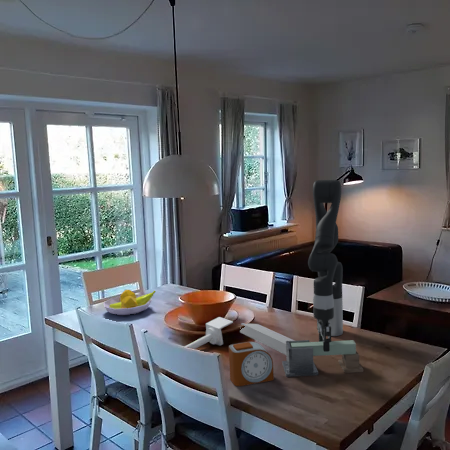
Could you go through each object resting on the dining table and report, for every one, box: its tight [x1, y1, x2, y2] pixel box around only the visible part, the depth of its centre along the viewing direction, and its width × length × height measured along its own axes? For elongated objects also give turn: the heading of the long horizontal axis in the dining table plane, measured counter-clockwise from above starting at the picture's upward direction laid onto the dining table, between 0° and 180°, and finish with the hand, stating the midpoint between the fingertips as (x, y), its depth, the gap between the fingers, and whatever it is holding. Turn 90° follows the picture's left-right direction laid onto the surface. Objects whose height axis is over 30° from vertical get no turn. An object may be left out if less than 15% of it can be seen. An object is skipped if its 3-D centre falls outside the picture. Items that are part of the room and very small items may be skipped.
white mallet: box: [184, 316, 234, 350], centre depth 202 cm, size 9×9×32 cm
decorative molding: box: [239, 322, 296, 356], centre depth 208 cm, size 34×5×10 cm
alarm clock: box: [228, 341, 275, 387], centre depth 171 cm, size 15×8×14 cm, turn 106°
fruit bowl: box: [103, 289, 156, 316], centre depth 258 cm, size 28×27×11 cm
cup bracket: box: [281, 339, 319, 378], centre depth 178 cm, size 11×12×10 cm
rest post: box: [338, 350, 364, 374], centre depth 178 cm, size 9×7×6 cm
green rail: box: [291, 339, 357, 357], centre depth 177 cm, size 4×24×4 cm, turn 90°
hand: (324, 346), depth 177 cm, fingers open, 7 cm apart
